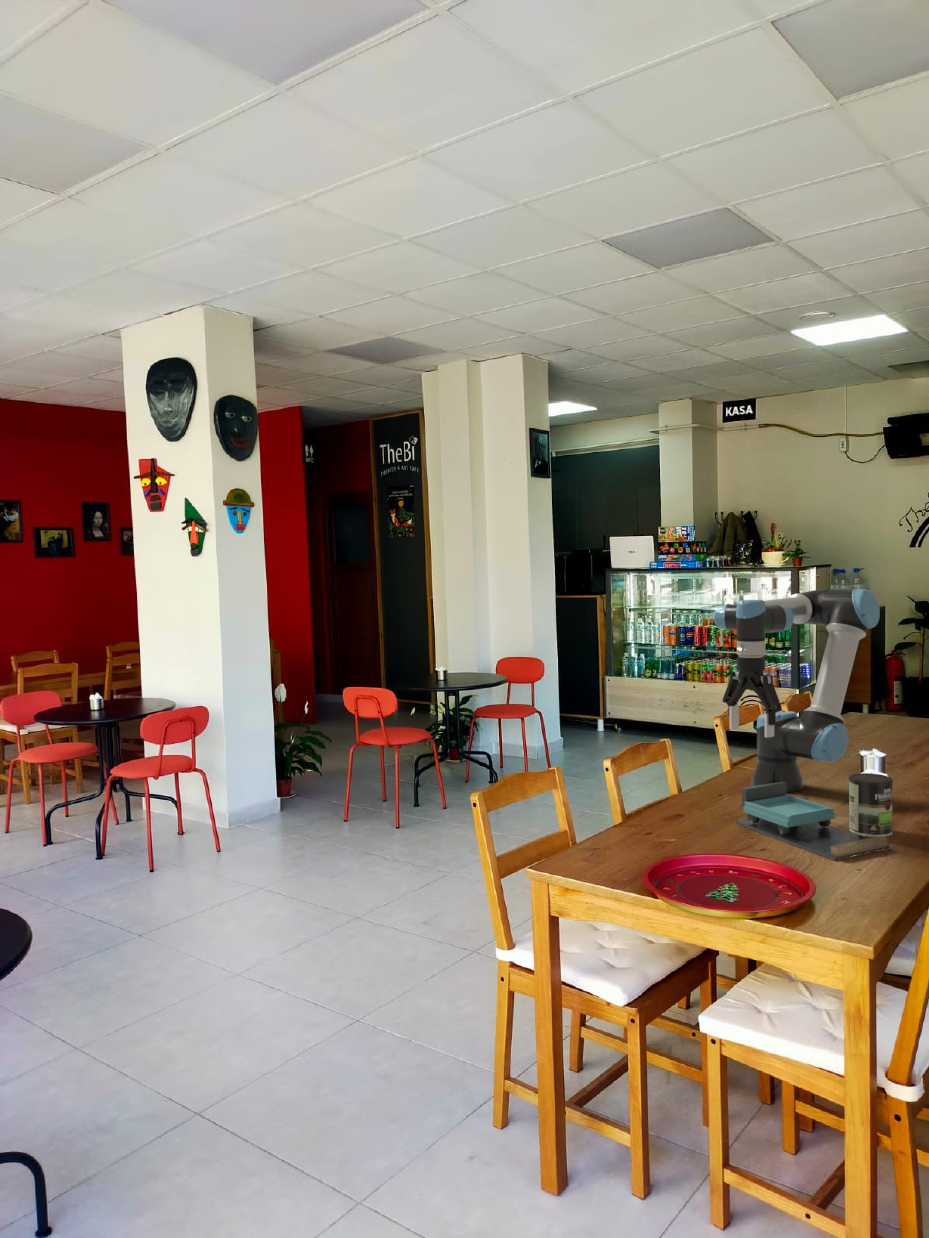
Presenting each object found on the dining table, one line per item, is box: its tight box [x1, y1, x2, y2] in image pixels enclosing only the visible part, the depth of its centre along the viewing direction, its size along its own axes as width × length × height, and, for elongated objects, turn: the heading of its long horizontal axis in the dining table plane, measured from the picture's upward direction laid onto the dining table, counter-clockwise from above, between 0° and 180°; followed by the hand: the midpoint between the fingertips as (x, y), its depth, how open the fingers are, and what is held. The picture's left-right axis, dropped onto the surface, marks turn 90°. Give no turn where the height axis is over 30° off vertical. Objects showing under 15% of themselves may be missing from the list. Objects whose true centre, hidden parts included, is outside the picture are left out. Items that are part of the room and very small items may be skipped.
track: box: [734, 817, 891, 861], centre depth 227 cm, size 34×18×3 cm, turn 24°
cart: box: [741, 782, 836, 835], centre depth 233 cm, size 18×16×8 cm
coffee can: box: [848, 772, 894, 838], centre depth 228 cm, size 10×10×14 cm
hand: (751, 732), depth 245 cm, fingers open, 13 cm apart
